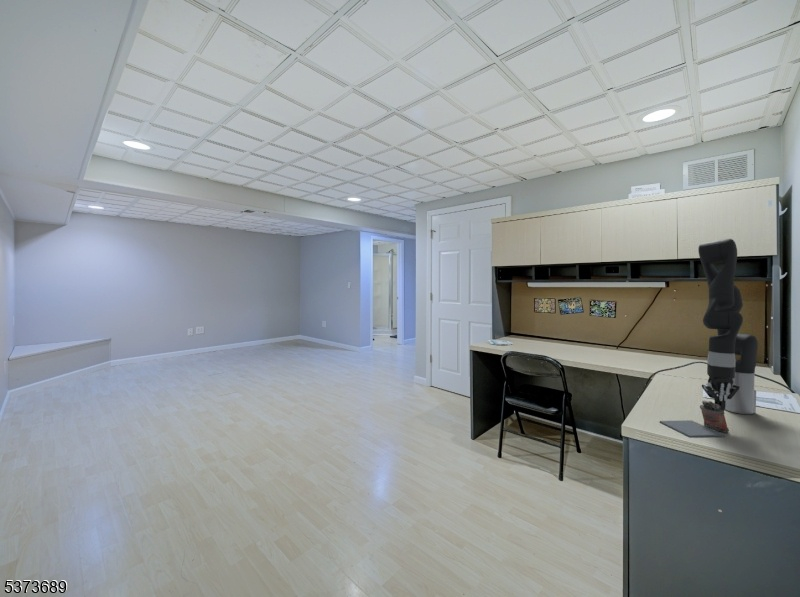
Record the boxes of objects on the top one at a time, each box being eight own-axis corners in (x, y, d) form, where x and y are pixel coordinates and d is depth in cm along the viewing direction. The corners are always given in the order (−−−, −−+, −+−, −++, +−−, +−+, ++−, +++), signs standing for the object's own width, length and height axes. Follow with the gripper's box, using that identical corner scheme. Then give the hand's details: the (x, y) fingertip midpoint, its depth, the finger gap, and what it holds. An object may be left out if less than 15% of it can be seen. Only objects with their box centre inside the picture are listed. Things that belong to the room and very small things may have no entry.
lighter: (701, 424, 128) (695, 400, 128) (709, 422, 129) (703, 397, 128) (723, 433, 120) (716, 407, 120) (731, 430, 121) (725, 404, 120)
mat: (691, 421, 131) (691, 420, 131) (724, 436, 118) (725, 434, 118) (659, 422, 130) (659, 420, 130) (689, 437, 117) (689, 435, 117)
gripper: (727, 361, 128) (726, 406, 128) (694, 362, 127) (693, 406, 128) (749, 366, 120) (747, 413, 121) (714, 366, 120) (712, 414, 120)
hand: (719, 409), depth 124 cm, fingers closed
